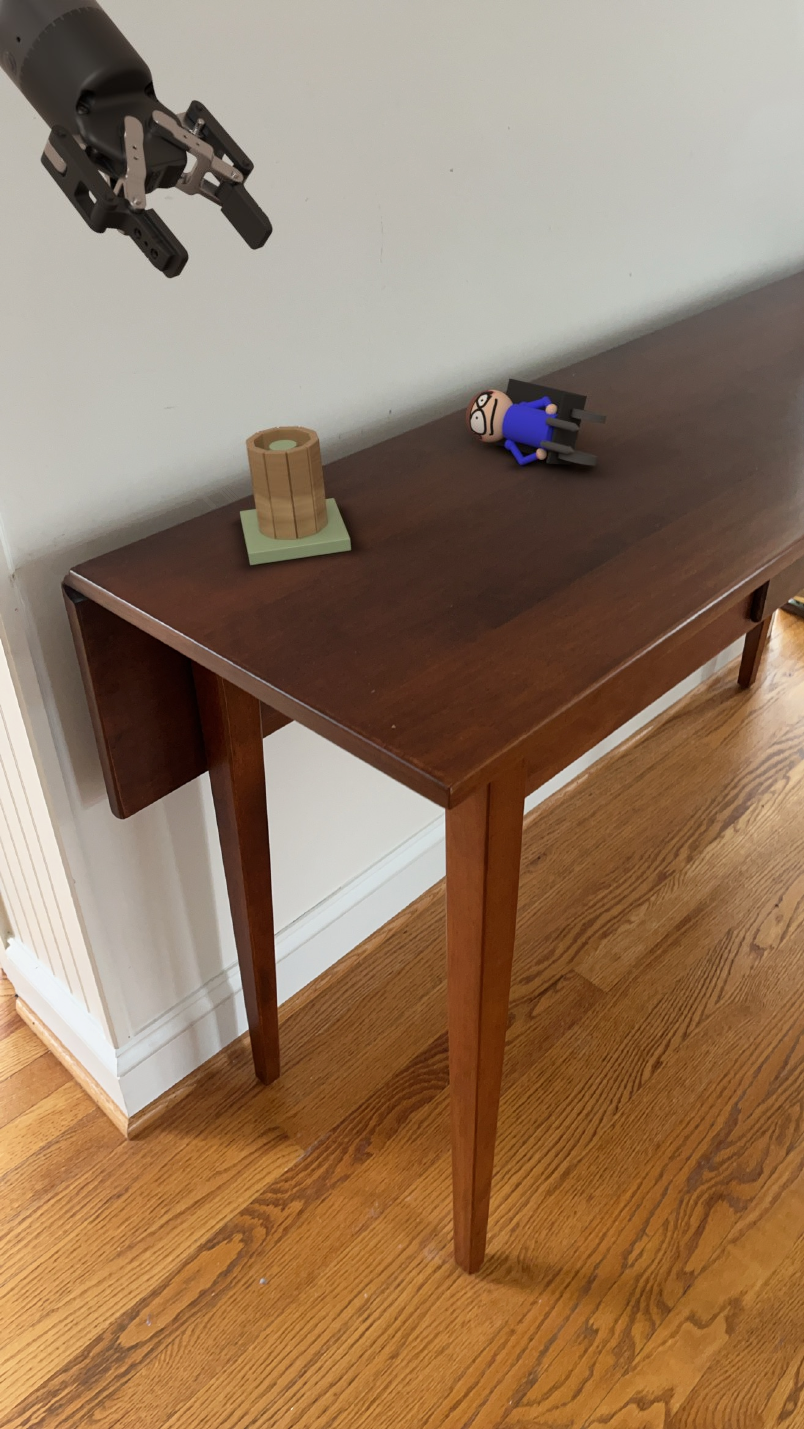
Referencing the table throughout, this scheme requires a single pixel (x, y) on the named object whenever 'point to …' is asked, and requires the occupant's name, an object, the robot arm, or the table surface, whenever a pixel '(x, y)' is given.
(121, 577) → the table surface
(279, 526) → the tan hollow cylinder
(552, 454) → the character figurine
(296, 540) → the stand
